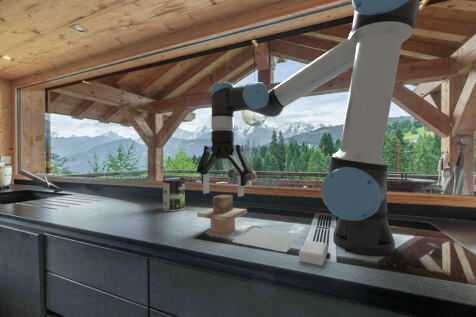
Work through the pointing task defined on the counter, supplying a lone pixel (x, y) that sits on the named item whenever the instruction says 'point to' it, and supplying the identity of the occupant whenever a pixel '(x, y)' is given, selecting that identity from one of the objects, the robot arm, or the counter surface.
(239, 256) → the counter surface
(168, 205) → the coffee can
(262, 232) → the mat
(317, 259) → the soap
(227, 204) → the lid
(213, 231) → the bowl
